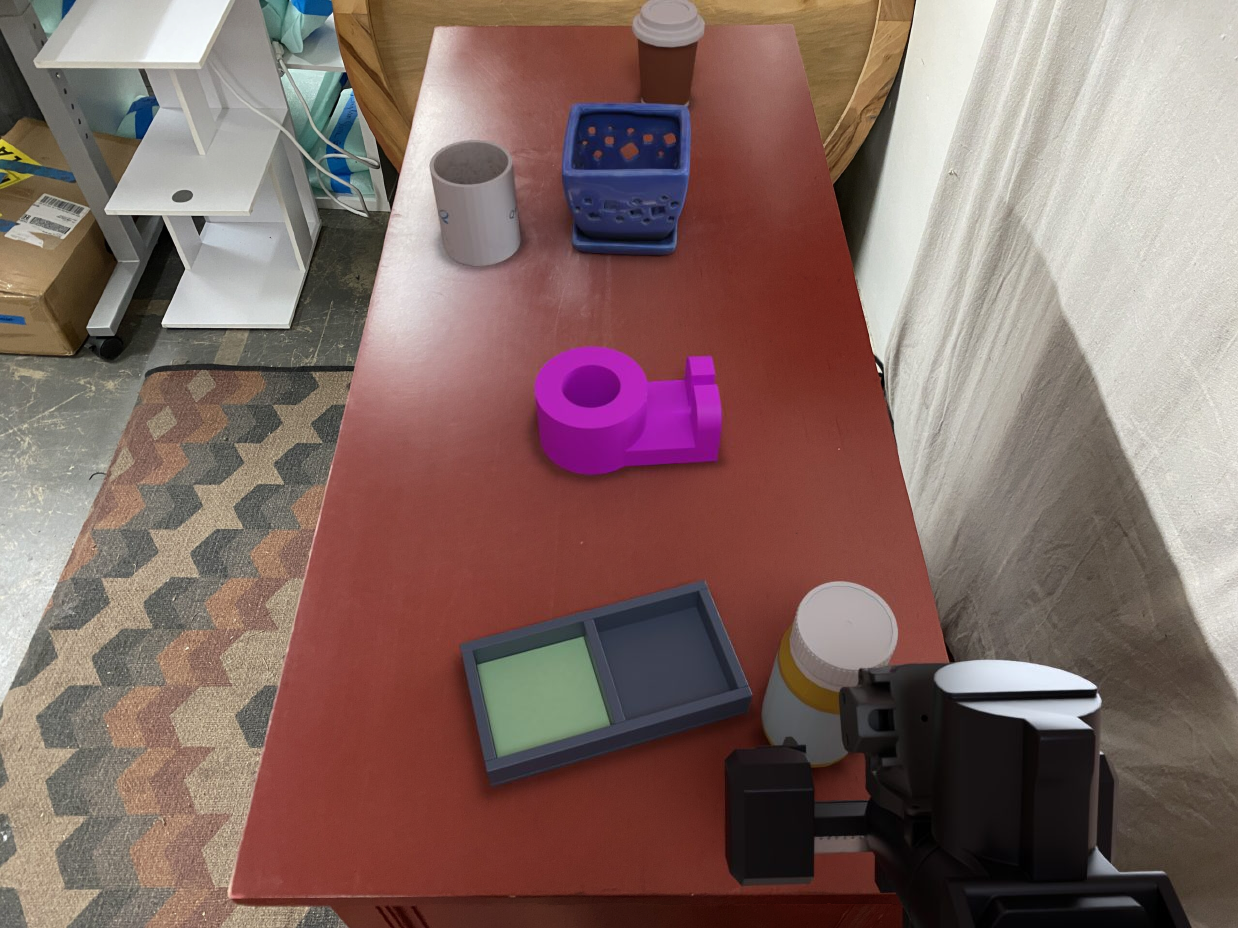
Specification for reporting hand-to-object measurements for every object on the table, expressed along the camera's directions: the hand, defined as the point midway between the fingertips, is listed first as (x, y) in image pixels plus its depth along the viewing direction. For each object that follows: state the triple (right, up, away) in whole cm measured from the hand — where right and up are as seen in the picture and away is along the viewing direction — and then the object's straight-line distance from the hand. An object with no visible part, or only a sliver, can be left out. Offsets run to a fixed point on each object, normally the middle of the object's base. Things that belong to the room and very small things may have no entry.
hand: (867, 742), depth 53 cm
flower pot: (-14, +43, +51) cm, 68 cm away
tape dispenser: (-14, +19, +32) cm, 40 cm away
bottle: (-1, -3, +14) cm, 15 cm away
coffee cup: (-8, +64, +68) cm, 94 cm away
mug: (-30, +43, +51) cm, 73 cm away
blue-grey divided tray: (-16, -1, +16) cm, 22 cm away
